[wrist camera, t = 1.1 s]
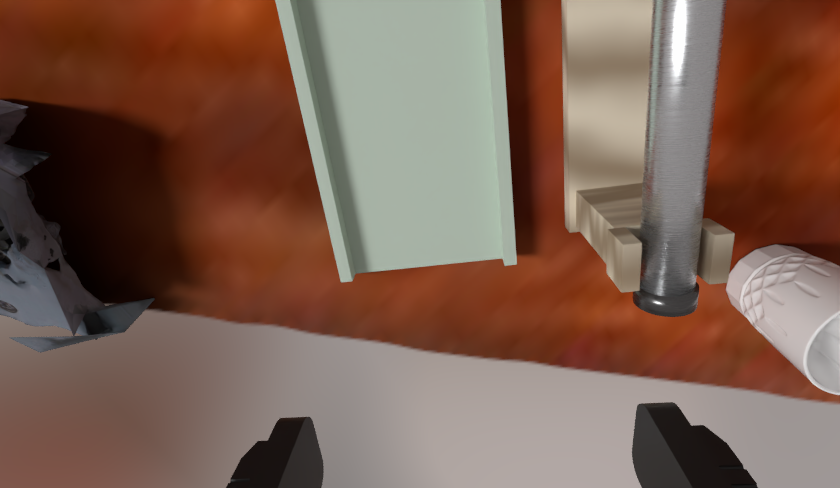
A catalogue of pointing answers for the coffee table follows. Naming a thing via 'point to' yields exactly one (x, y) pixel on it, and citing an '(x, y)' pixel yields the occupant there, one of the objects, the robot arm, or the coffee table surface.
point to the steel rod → (677, 150)
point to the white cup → (793, 308)
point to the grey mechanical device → (43, 259)
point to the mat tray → (405, 128)
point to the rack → (615, 137)
